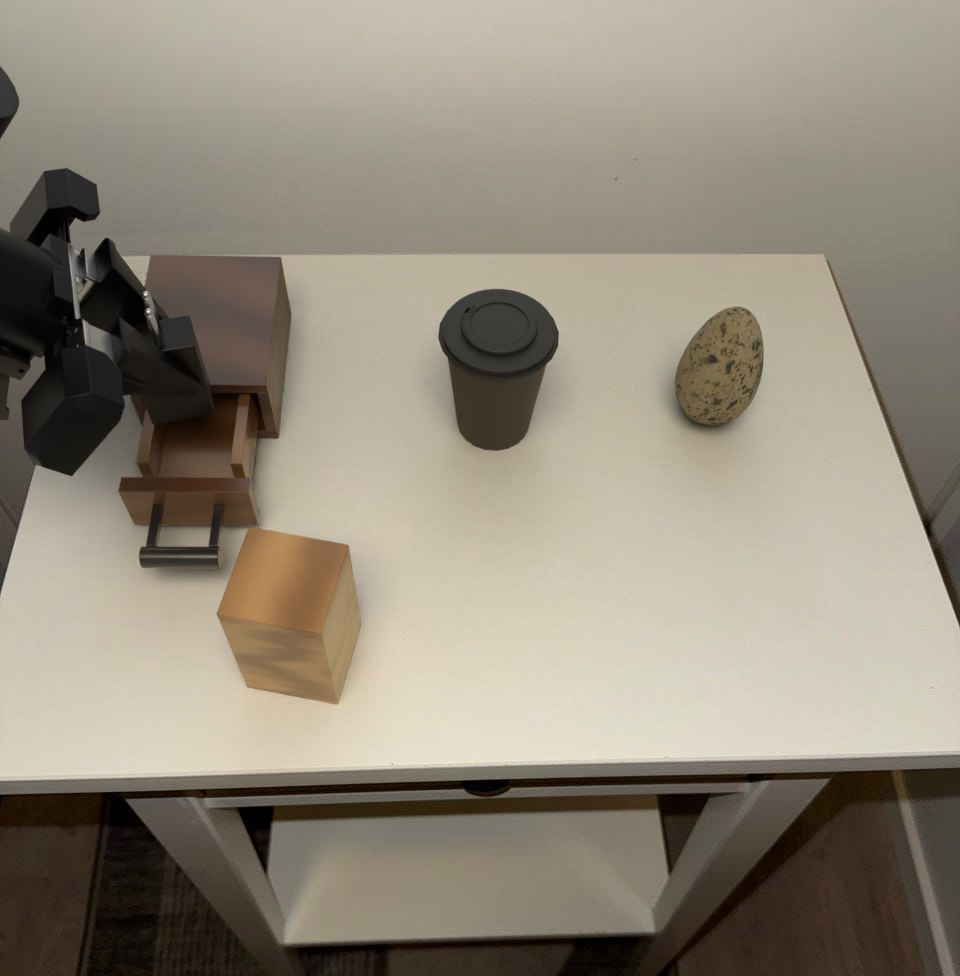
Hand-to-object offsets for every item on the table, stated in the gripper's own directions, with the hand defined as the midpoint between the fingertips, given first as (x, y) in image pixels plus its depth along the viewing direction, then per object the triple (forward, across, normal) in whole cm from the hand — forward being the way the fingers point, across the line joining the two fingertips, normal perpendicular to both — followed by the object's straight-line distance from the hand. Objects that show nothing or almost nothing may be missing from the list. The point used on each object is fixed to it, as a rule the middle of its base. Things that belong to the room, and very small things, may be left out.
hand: (194, 372), depth 61 cm
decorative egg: (+33, +3, +18) cm, 37 cm away
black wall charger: (+1, 0, -3) cm, 3 cm away
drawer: (+5, +1, -8) cm, 10 cm away
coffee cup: (+21, 0, +7) cm, 22 cm away
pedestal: (+9, +16, -5) cm, 19 cm away
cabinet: (+8, -10, -6) cm, 14 cm away
